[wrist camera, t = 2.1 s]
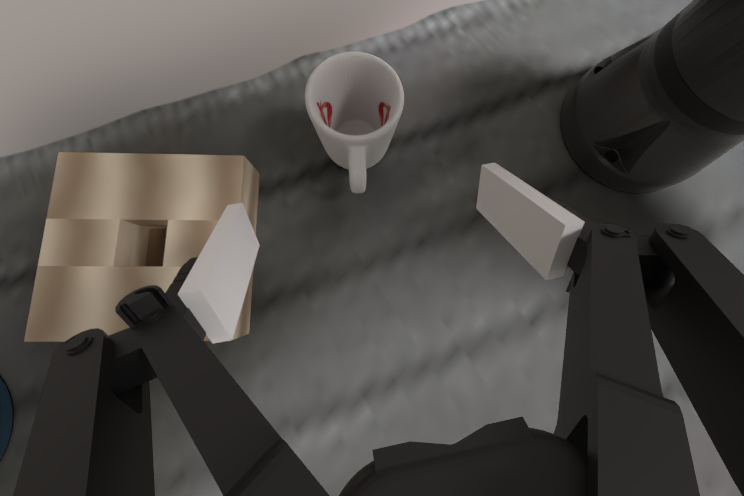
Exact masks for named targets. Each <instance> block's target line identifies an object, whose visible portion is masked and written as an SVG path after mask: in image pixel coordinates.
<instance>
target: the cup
mask: <svg viewBox="0 0 744 496" xmlns="http://www.w3.org/2000/svg"><path fill="white" fill-rule="evenodd" d="M305 104H306V109H307V112H308V115H309V117H310V119H311V121H312V123H313V125H314V127H315V130H316V132H317V134H318V136H319V138H320V140H321V142H322V144H323V146H324V149H325V150H326V152H327V154H328V155H329V157H330V158H331V159H332V160H333V161H334V162H335V163H336V164H338V165H339V166H341V167H343V168H345V169H349V180H350V189H351V191H352V192H353V193H363V192H365V190H366V169H368V168H370V167H372V166H374V165H375V164H377V163H378V162H379V161H380V160H381V159H382V158H383V156H384V155H385V153H386V151H387V149H388V147H389V144H390V142H391V139H392V137H393V134H394V132H395V129H396V127H397V124H398V122H399V119H400V117H401V114H402V111H403V106H404V91H403V87H402V83H401V81H400V79H399V77H398V75H397V74H396V72H395V71H394V70H393V68H392V67H391V66H390V65H389V64H387V63H386V62H385V61H383V60H382V59H380V58H378V57H376V56H374V55H371V54H368V53H364V52H356V51H353V52H343V53H339V54H336V55H333V56H331V57H329V58H327V59H326V60H324V61H323V62H321V63H320V64H319V65H318V66H317V67H316V68H315V69H314V71H313V72H312V74H311V75H310V77H309V79H308V82H307V85H306V89H305Z"/></svg>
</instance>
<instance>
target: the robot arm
mask: <svg viewBox="0 0 744 496" xmlns="http://www.w3.org/2000/svg"><path fill="white" fill-rule="evenodd" d="M561 129H562V134H563V138H564V141H565V144H566V146H567V148H568V150H569V152H570V154H571V155H572V157H573V159H574V160H575V161H576V163H577V164H578V165H579V166H580V167H581V168H582V169H583V170H584V171H585V172H586V173H587V174H588V175H589V176H591V177H592V178H593V179H595V180H596V181H598V182H600V183H601V184H603V185H605V186H607V187H610V188H612V189H615V190H619V191H623V192H628V193H648V192H653V191H657V190H660V189H662V188H665V187H668V186H671V185H674V184H677V183H680V182H682V181H684V180H686V179H688V178H690V177H691V176H693V175H695V174H696V173H697V172H699V171H700V170H701V169H703V168H704V167H706V166H707V165H709V164H710V163H712V162H713V161H715V160H716V159H717V158H719V157H720V156H722V155H723V154H724V153H726V152H727V151H729V150H730V149H732V148H733V147H734V146H736V145H737V144H739V143H740V142H741V141H743V140H744V0H693V1H692V2H691V3H690V4H689V5H688V6H686V7H685V8H684V9H683V10H682V11H681V12H680V13H679V14H677V15H676V16H675V17H674V18H673V19H672V20H671V21H670V22H668V23H667V24H666V25H665V26H664V27H662V28H661V29H659V30H658V31H656V32H654V33H652V34H650V35H648V36H647V37H645V38H643V39H641V40H639V41H637V42H636V43H634V44H632V45H630V46H628V47H626V48H624V49H623V50H621V51H619V52H617V53H615V54H613V55H612V56H610V57H608V58H606V59H604V60H603V61H601V62H599V63H598V64H596V65H595V66H594V67H592V68H591V69H590V70H589V71H588V72H587V73H586V74H585V75H584V76H583V77H582V78H581V79H580V80H579V81H578V82H577V83H576V84H575V85H574V86H573V87H572V88H571V89H570V91H569V92H568V94H567V96H566V98H565V100H564V103H563V107H562V112H561ZM476 209H477V210H478V211H479V212H480V213H481V214H482V215H483V216H484V217H485V218H486V219H487V220H488V221H489V222H490V223H491V224H492V225H493V226H494V227H495V228H496V229H497V231H498V232H499V233H500V234H501V235H502V236H503V237H504V238H505V239H506V240H507V241H508V242H509V243H510V244H511V245H512V246H513V247H514V248H515V249H516V250H517V251H518V252H519V253H520V254H521V255H522V256H523V257H524V258H525V259H526V260H527V261H528V262H529V263H530V264H531V265H532V267H533V268H534V269H535V270H536V271H537V272H538V273H539V274H540V275H541V276H542V277H543V278H544V279H545V280H551V279H556V278H561V277H563V276H564V273H565V271H566V268H567V266H568V267H570V268H571V269H572V270H573V271H574V273H573V275H572V278H571V280H570V283H569V285H568V287H567V290H566V292H569V291H570V296H569V307H568V318H567V328H566V339H565V349H564V360H563V370H562V381H561V392H560V402H559V413H558V421H557V425H556V428H555V431H554V434H552V433H549V432H546V431H543V430H538V429H534V428H528V426H527V424H526V422H525V420H524V418H523V417H519V418H514V419H510V420H505V421H501V422H496V423H492V424H487V425H485V426H484V427H482V428H480V429H479V430H477V431H475V432H474V433H472V434H470V435H469V436H467V437H465V438H464V439H462V440H460V441H459V442H457V443H455V444H452V445H447V444H434V443H421V442H406V443H402V444H397V445H393V446H388V447H384V448H379V449H375V450H373V456H374V461H373V462H371V463H369V464H368V465H366V466H365V467H363V468H362V469H361V470H360V471H358V472H357V473H356V474H355V475H354V476H353V477H352V478H351V479H350V481H349V482H348V483H347V485H346V486H345V487H344V488H343V490H342V492H341V493H340V495H339V496H700V494H699V490H698V485H697V480H696V475H695V471H694V466H693V461H692V457H691V452H690V447H689V443H688V438H687V433H686V428H685V424H684V419H683V415H682V412H681V409H680V407H679V406H678V405H677V404H676V402H674V401H672V400H669V399H666V398H664V397H663V394H662V390H661V385H660V379H659V373H658V367H657V361H656V355H655V349H654V344H653V338H652V332H651V329H652V331H653V333H654V335H655V337H656V338H657V340H658V342H659V344H660V346H661V348H662V349H663V351H664V353H665V355H666V357H667V359H668V361H669V362H670V364H671V366H672V368H673V370H674V372H675V373H676V375H677V377H678V379H679V381H680V383H681V385H682V386H683V388H684V390H685V392H686V394H687V396H688V397H689V399H690V401H691V403H692V405H693V407H694V409H695V410H696V412H697V414H698V416H699V418H700V420H701V421H702V423H703V425H704V427H705V429H706V431H707V433H708V434H709V436H710V438H711V440H712V442H713V444H714V445H715V447H716V449H717V451H718V453H719V455H720V457H721V458H722V460H723V462H724V464H725V466H726V468H727V469H728V471H729V473H730V475H731V477H732V479H733V480H734V482H735V484H736V485H737V487H738V489H739V490H740V492H741V494H742V496H744V275H743V274H742V273H741V272H740V271H739V270H738V269H737V268H736V267H735V266H734V265H733V264H732V263H731V262H730V261H729V260H728V259H727V258H726V257H725V256H724V255H723V254H722V253H721V252H720V251H719V250H718V249H717V248H716V247H715V246H713V245H712V244H711V243H710V242H709V241H708V240H707V239H706V238H705V237H704V236H703V235H702V234H701V233H699V232H698V231H696V230H693V229H691V228H690V227H687V226H683V225H675V224H662V225H658V226H657V227H656V228H655V230H654V232H653V234H652V235H634V234H633V232H631V231H630V230H629V229H627V228H624V227H622V226H619V225H615V224H606V223H603V224H596V223H594V222H593V221H591V220H590V219H588V218H586V217H585V216H583V215H582V214H580V213H579V212H577V211H576V212H575V210H574V209H572V208H571V207H568V205H566V204H565V203H563V202H561V201H560V200H557V199H554V198H551V197H546V196H545V195H543V194H542V193H540V192H539V191H537V190H536V189H534V188H533V187H531V186H530V185H528V184H527V183H525V182H524V181H522V180H521V179H519V178H518V177H516V176H515V175H513V174H512V173H510V172H508V171H507V170H505V169H504V168H502V167H501V166H499V165H498V164H496V163H489V164H482V166H481V174H480V182H479V190H478V197H477V205H476ZM259 246H260V244H259V242H258V239H257V237H256V235H255V232H254V230H253V227H252V225H251V222H250V220H249V218H248V215H247V213H246V210H245V208H244V205H243V203H237V204H231V205H227V207H226V209H225V210H224V212H223V214H222V216H221V218H220V219H219V221H218V223H217V225H216V226H215V228H214V230H213V232H212V234H211V235H210V237H209V239H208V241H207V242H206V244H205V246H204V248H203V250H202V251H201V253H200V255H199V257H194V258H191V259H189V260H188V261H187V262H186V263H185V264H184V265H183V266H182V267H181V268H180V270H179V272H178V273H177V276H175V278H174V280H173V283H171V285H170V286H169V288H168V290H167V291H166V293H164V291H163V290H162V289H161V287H159V286H157V285H150V286H145V287H142V288H139V289H137V290H135V291H133V292H131V293H129V294H128V295H126V296H125V297H124V298H123V299H122V300H120V301H119V303H118V304H117V306H116V307H115V312H116V313H117V314H118V315H119V316H120V317H121V319H122V320H123V321H124V322H125V323H126V324H127V325H128V326H129V327H130V328H127V329H124V330H122V331H119V332H117V333H114V334H112V335H109V336H108V335H107V334H106V333H105V332H104V331H103V330H101V329H99V328H95V329H89V330H86V331H83V332H81V333H79V334H77V335H74V336H72V337H71V338H69V339H68V340H66V341H65V342H64V343H63V344H62V345H61V346H60V347H59V348H58V349H57V350H56V351H55V353H54V355H53V357H52V360H51V364H50V367H49V371H48V374H47V378H46V381H45V385H44V388H43V392H42V396H41V399H40V403H39V406H38V410H37V413H36V417H35V420H34V424H33V427H32V431H31V435H30V438H29V442H28V445H27V449H26V452H25V456H24V459H23V463H22V466H21V470H20V474H19V477H18V481H17V484H16V488H15V491H14V495H13V496H155V490H154V470H153V449H152V429H151V408H150V388H149V381H150V380H152V379H154V378H156V377H158V378H159V380H160V382H161V383H162V385H163V387H164V389H165V391H166V392H167V394H168V396H169V398H170V400H171V401H172V403H173V405H174V407H175V409H176V410H177V412H178V414H179V416H180V418H181V419H182V421H183V423H184V425H185V427H186V429H187V430H188V432H189V434H190V436H191V438H192V439H193V441H194V443H195V445H196V447H197V448H198V450H199V452H200V454H201V456H202V457H203V459H204V461H205V463H206V465H207V466H208V468H209V470H210V472H211V474H212V475H213V477H214V479H215V481H216V483H217V484H218V486H219V488H220V490H221V492H222V494H223V496H329V495H328V493H327V492H326V491H325V490H324V488H323V487H322V486H321V485H320V483H319V482H318V481H317V480H316V479H315V477H314V476H313V475H312V474H311V472H310V471H309V470H308V469H307V467H306V466H305V465H304V464H303V463H302V461H301V460H300V459H299V458H298V456H297V455H296V454H295V453H294V451H293V450H292V449H291V448H290V447H289V445H288V444H287V443H286V442H285V441H284V440H283V439H282V438H281V437H280V436H279V434H278V433H277V432H276V431H275V430H274V428H273V427H272V426H271V425H270V423H269V422H268V421H267V420H266V418H265V417H264V416H263V415H262V413H261V412H260V411H259V410H258V409H257V407H256V406H255V405H254V404H253V402H252V401H251V400H250V399H249V397H248V396H247V395H246V394H245V392H244V391H243V390H242V389H241V387H240V386H239V385H238V384H237V383H236V381H235V380H234V379H233V378H232V376H231V375H230V374H229V373H228V371H227V370H226V369H225V368H224V366H223V365H222V364H221V363H220V362H219V360H218V359H217V358H216V357H215V355H214V354H213V353H212V352H211V350H210V349H209V348H208V347H207V345H206V344H205V343H204V342H203V341H204V339H205V336H206V335H207V336H208V338H209V339H210V341H211V342H212V344H214V343H219V342H224V341H230V340H233V336H234V333H235V329H236V326H237V322H238V319H239V316H240V312H241V309H242V305H243V302H244V298H245V295H246V291H247V288H248V284H249V281H250V277H251V274H252V270H253V267H254V263H255V260H256V257H257V253H258V250H259Z"/></svg>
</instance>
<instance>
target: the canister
mask: <svg viewBox="0 0 744 496" xmlns="http://www.w3.org/2000/svg"><path fill="white" fill-rule="evenodd" d="M12 423H13V409H12V402H11V398H10V395H9V392H8V389H7V387H6V385H5V384H4V382H3V380H2V379H1V378H0V460H1V458H2V456H3V454H4V452H5V450H6V447H7V445H8V442H9V439H10V435H11V430H12Z"/></svg>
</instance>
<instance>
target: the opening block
mask: <svg viewBox="0 0 744 496" xmlns="http://www.w3.org/2000/svg"><path fill="white" fill-rule="evenodd" d="M259 180H260V173H259V172H258V171H257V170H256V169H255V168H254V166H253V165H252V164H251V163H250V162H249V161H248V159H247V158H246V157H245V156H242V155H190V154H138V153H86V152H59V153H58V158H57V163H56V169H55V174H54V180H53V185H52V191H51V196H50V202H49V207H48V213H47V218H46V223H45V229H44V234H43V240H42V245H41V251H40V256H39V262H38V267H37V273H36V278H35V283H34V289H33V294H32V300H31V305H30V311H29V316H28V322H27V327H26V333H25V338H24V342H65V341H66V340H68V339H69V338H71V337H72V336H74V335H77V334H79V333H81V332H83V331H86V330H89V329H95V328H99V329H101V330H103V331H104V332H105V333H106V334H107V335H108V336H109V335H112V334H114V333H117V332H119V331H122V330H124V329H127V328H130V327H129V326H128V325H127V324H126V323H125V322H124V321H123V320H122V319H121V317H120V316H119V315H118V314H117V313H116V312H115V307H116V306H117V304H118V303H119V301H120V300H122V299H123V298H124V297H125V296H126V295H128V294H129V293H131V292H133V291H135V290H137V289H139V288H142V287H145V286H150V285H157V286H159V287H161V289H162V290H163V291H164V293H166V291H167V290H168V288H169V286H170V285H171V283H173V280H174V278H175V276H177V273H178V272H179V270H180V268H181V267H182V266H183V265H184V264H185V263H186V262H187V261H188V260H189V259H191V258H194V257H199V255H200V253H201V251H202V250H203V248H204V246H205V244H206V242H207V241H208V239H209V237H210V235H211V234H212V232H213V230H214V228H215V226H216V225H217V223H218V221H219V219H220V218H221V216H222V214H223V212H224V210H225V209H226V207H227V205H231V204H237V203H243V205H244V208H245V210H246V213H247V215H248V218H249V220H250V222H251V225H252V227H253V230H254V232H255V235H256V225H257V210H258V195H259ZM253 271H254V267H253V270H252V274H251V277H250V281H249V284H248V288H247V291H246V295H245V298H244V302H243V305H242V309H241V312H240V316H239V319H238V322H237V326H236V329H235V333H234V336H233V340H234V339H237V338H240V337H242V336H245V335H248V334H249V331H250V316H251V301H252V286H253ZM204 341H210V339H209V338H208V336H207V335H206V336H205V339H204ZM230 341H231V340H230Z"/></svg>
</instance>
